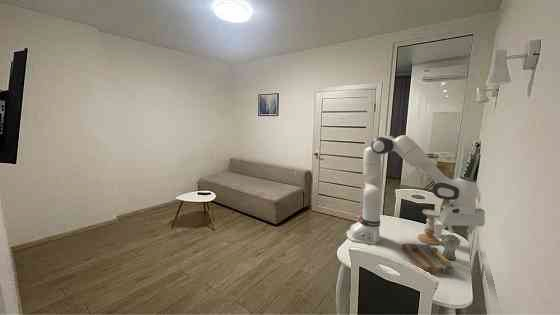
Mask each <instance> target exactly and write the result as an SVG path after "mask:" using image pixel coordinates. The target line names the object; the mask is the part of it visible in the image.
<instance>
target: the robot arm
mask: <svg viewBox="0 0 560 315" xmlns="http://www.w3.org/2000/svg"><path fill="white" fill-rule="evenodd" d="M370 144H371V146H367V147H366V148H365V149H364V151H363V155H362V156H363V160H362V165H363V169H362V170H363V178H364V189H363V193H362V194H363V195H362V215H361V216H360V215H357V216H356V217H357V219H358V220H359V221H357V222H355V223H353V224H351V225H350V229H348V230H347V231H346V236H347V238H348V240H350V241H351V240H352V241H351V242H354V241H356V242H355V243H360V244H361V243H362V244H369V245H377V243H379V242H380V241H381V239H382V238H381V234H380V227H381V210H382V209H381V208H382V206H381V205H382V195H383V177H382V156H383V155H385V154H388V153H391V152H395V153H397V154H398V155H399V157H401V159H402V160H403V161H404V162H405V163H406V164H407V165H409V166H410V167H415V168H418V169H421V170H422V171H424V172H425V174H427V176H428V177H430V178H431V180H432V181H433V182H434V185H433V186H432V189H431V191H432V193H433V195H434V196H435V197H436V198H438V199H440V200H452V202H449V203H445V204H442V206H441V208H442V210H441V211H440V212H439V213H440V217H438V218H439V221H440V222H441V223H442V224H443V226H446V227H447V228H448V231H447V232H448V233H449V234H453V233H454V231H455V230H454V229H453V227H454V226H456V227H457V226H458V227H459V226H460V227H469V228H467V229H466V233H467V234H471V235H472V234H473V232H474V230H476V227H484V225H485V223H486V218H485V213H486V212H485V210H484V209H482V208H476V198H478V191H479V190H478V189H479V188H478V182H477V180H475V179H473V178H471V177H468V176H467V177H466V176H458V177H455V178H452V177H451V176H450V177H449V176H448V175H447V174H444V173H443V171H442V170H441V169H440V168H439V167H438V166H437V165H435V163H433V162H432V160H431V159H430V158H429V156H428V155H427V154H426V152H425V151H424V150H423V149H422V148H421V146H419V145H418V143H416V142H415V141H414V139H412V138H410V137H409V136H408V135H405V134H403V135H402V134H401V135H399V136H397V137H395V136H393V135H391V134H387V135H381V136H379V137H375V138H374V139H373V140H372V142H371V143H370ZM351 235H352V236H351ZM350 236H351V237H350ZM349 237H350V238H349Z"/></svg>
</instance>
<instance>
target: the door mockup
mask: <svg viewBox="0 0 560 315" xmlns="http://www.w3.org/2000/svg"><path fill="white" fill-rule="evenodd" d="M432 247H433V246H432V245H430V244H421V243H420V244H419V243H402V247H401V250H402V251H403V253H404V254H405V255H406V256H407V257H408V259H409V260H410V261H411V262H412V263H413V265H414V266H415V265H416V266H417V267H419V268H421V269H423V270H424V271H426V272H429V273H430V274H429V275H442V276H443V275H445V276H454V274H455V267H453V265H451V266H450V267H445V266H444V265H443V264H442V263H441V262H440V261H439V260H438V259H437V258H436V257H435V256H434V255H433V254H432V253H431V252H432ZM416 266H415V267H416ZM417 267H416V268H417Z"/></svg>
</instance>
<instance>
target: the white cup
mask: <svg viewBox="0 0 560 315" xmlns="http://www.w3.org/2000/svg"><path fill="white" fill-rule="evenodd" d="M434 220H435V223H434V227H435V229H434V232H435V233H434V234H433V236H435V237H436V238H441V237H442V233H443V229H444V225H443V224H442V223H441V222H440V221H439V220H438V219H434Z"/></svg>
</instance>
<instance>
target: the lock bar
mask: <svg viewBox="0 0 560 315" xmlns="http://www.w3.org/2000/svg"><path fill="white" fill-rule="evenodd" d="M431 247H432V252H431V253H432V254H433V255H434V256H435V257H436V258H437V259H438V260H439V261H440V262H441V263H442V264H443V265H444V266H445V267H450V266H452V264H451V263H452V262H451V261H450V260H449V259H448V258H447V257H446V256H444V255H443V254H442V253H441V252H440V251H439V249H438V248H437V247H435V246H431Z"/></svg>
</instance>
